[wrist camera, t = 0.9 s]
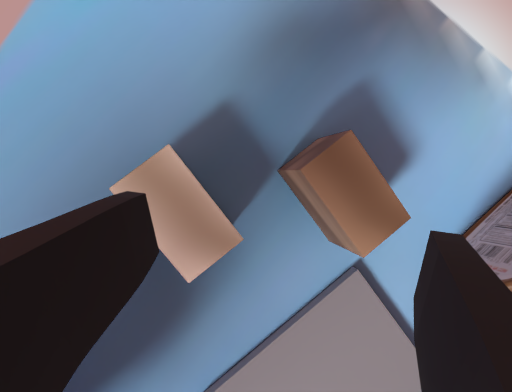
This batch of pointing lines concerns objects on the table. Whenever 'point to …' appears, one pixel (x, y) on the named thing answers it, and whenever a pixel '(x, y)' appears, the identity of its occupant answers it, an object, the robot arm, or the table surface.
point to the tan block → (181, 213)
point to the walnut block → (345, 193)
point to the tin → (495, 239)
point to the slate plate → (331, 348)
